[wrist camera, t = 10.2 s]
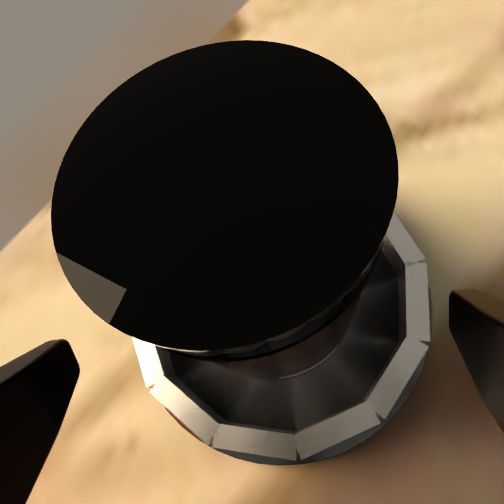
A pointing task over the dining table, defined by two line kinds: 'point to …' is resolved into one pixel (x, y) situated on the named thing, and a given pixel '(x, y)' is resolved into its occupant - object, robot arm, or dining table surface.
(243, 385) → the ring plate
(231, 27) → the dining table surface
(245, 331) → the supplement container
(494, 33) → the dining table surface
